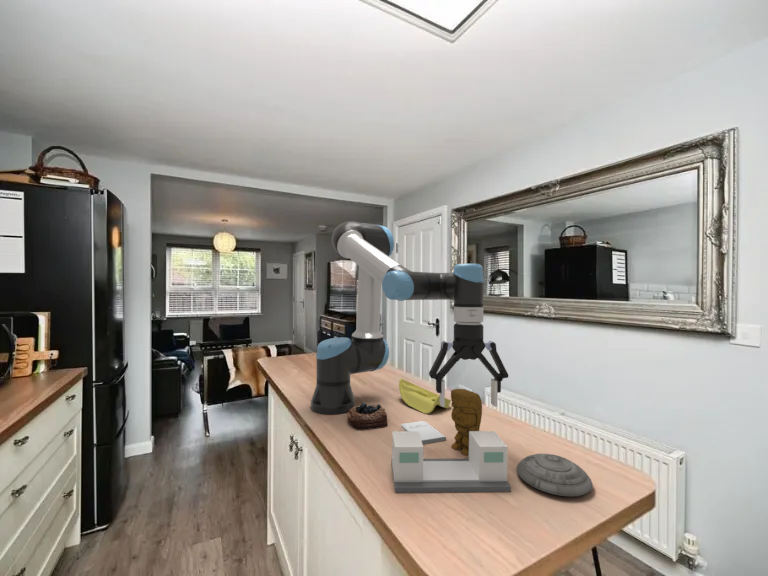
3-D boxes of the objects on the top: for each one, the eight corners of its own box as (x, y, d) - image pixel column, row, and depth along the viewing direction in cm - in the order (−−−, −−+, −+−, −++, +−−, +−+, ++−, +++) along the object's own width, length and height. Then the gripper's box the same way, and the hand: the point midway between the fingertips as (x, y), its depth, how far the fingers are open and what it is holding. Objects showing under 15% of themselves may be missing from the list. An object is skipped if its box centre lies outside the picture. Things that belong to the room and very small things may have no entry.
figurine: (447, 446, 93) (448, 389, 93) (466, 441, 96) (467, 386, 96) (466, 457, 87) (467, 397, 87) (485, 451, 90) (486, 393, 90)
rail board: (391, 463, 84) (392, 427, 83) (490, 462, 84) (491, 427, 84) (395, 492, 72) (395, 451, 72) (510, 491, 72) (511, 451, 72)
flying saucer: (502, 477, 78) (503, 453, 78) (538, 458, 87) (538, 436, 87) (572, 512, 66) (572, 483, 66) (604, 486, 75) (605, 460, 75)
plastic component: (453, 401, 122) (436, 394, 116) (446, 422, 121) (428, 415, 115) (414, 384, 138) (397, 377, 132) (407, 402, 136) (390, 395, 130)
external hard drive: (419, 446, 94) (400, 428, 105) (446, 442, 96) (425, 425, 108) (419, 440, 94) (400, 423, 105) (446, 436, 96) (425, 420, 108)
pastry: (391, 427, 105) (391, 408, 105) (352, 432, 101) (352, 412, 101) (380, 414, 115) (380, 397, 115) (344, 418, 112) (344, 400, 112)
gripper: (422, 324, 87) (422, 410, 87) (521, 324, 88) (521, 409, 88) (418, 321, 94) (418, 400, 94) (509, 322, 95) (509, 400, 95)
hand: (468, 405), depth 91 cm, fingers open, 13 cm apart
